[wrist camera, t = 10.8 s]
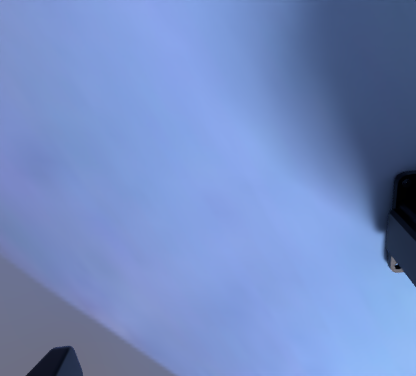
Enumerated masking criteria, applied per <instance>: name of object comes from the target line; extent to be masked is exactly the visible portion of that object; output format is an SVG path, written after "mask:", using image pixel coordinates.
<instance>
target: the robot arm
mask: <svg viewBox="0 0 416 376" xmlns="http://www.w3.org/2000/svg"><path fill="white" fill-rule="evenodd" d="M406 179H408V181H407V183H406V184H402V183H403V181H404V180H406ZM386 249H387V251H388V266H389V268H390V269H391V270H392V271H393V272H395V273H399V272H405V274H406V275H407V276H408V278H409V279H410V280H411V281H412V283H413V284H414V285H415V287H416V170H415V171H407V172H402V173H400V174H398V175H397V176H396V178H395V181H394V190H393V203H392V209H391V210H390V212H389V214H388V226H387V238H386ZM397 263H398V265H395V264H397ZM26 376H83V372H82V369H81V366H80V363H79V361H78V358H77V356H76V353H75V350H74V348H73V347H71V346H63V347H55V348H53V349H51V350H50V351H49V352H48V353H47V354H46V355H45V356H44V357H43V359H41V361H40V362H39V363H38V364H37V365H36V366H35V367H34V368H33V369H32V370H31V371H30V372H29V373H28V374H27V375H26Z"/></svg>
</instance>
